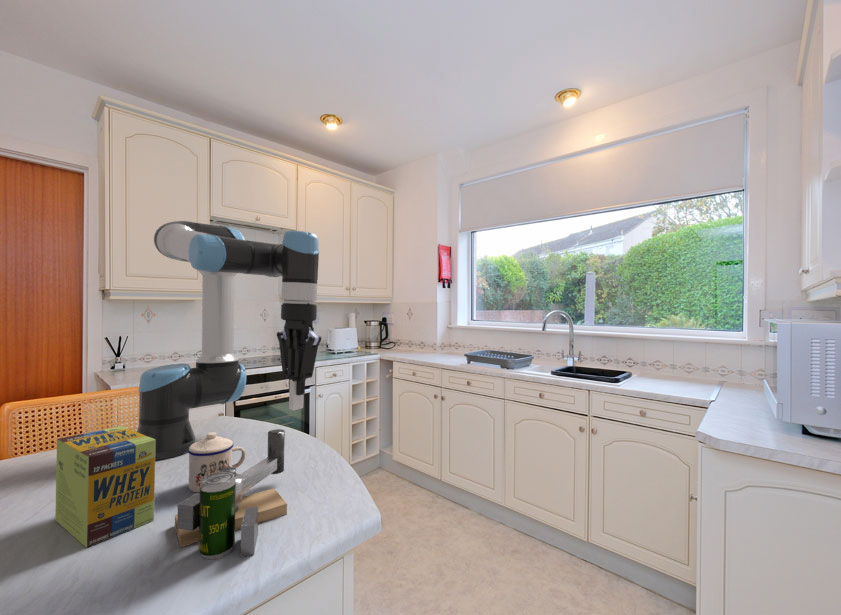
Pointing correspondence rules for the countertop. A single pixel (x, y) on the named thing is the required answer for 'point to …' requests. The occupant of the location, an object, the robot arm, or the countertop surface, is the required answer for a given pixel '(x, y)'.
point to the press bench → (267, 506)
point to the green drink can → (217, 515)
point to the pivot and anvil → (247, 524)
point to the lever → (239, 480)
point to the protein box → (104, 483)
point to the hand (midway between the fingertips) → (296, 408)
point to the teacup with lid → (210, 458)
